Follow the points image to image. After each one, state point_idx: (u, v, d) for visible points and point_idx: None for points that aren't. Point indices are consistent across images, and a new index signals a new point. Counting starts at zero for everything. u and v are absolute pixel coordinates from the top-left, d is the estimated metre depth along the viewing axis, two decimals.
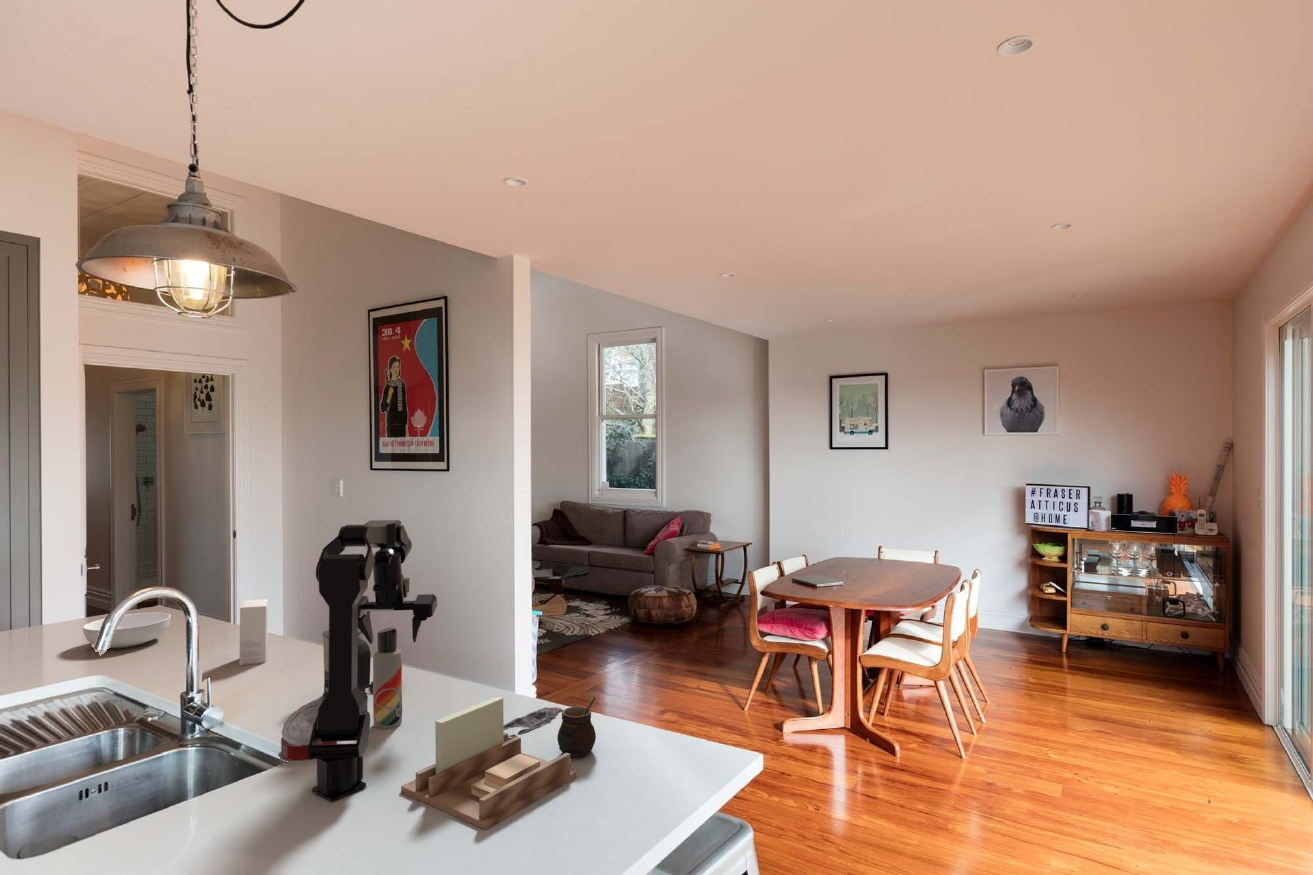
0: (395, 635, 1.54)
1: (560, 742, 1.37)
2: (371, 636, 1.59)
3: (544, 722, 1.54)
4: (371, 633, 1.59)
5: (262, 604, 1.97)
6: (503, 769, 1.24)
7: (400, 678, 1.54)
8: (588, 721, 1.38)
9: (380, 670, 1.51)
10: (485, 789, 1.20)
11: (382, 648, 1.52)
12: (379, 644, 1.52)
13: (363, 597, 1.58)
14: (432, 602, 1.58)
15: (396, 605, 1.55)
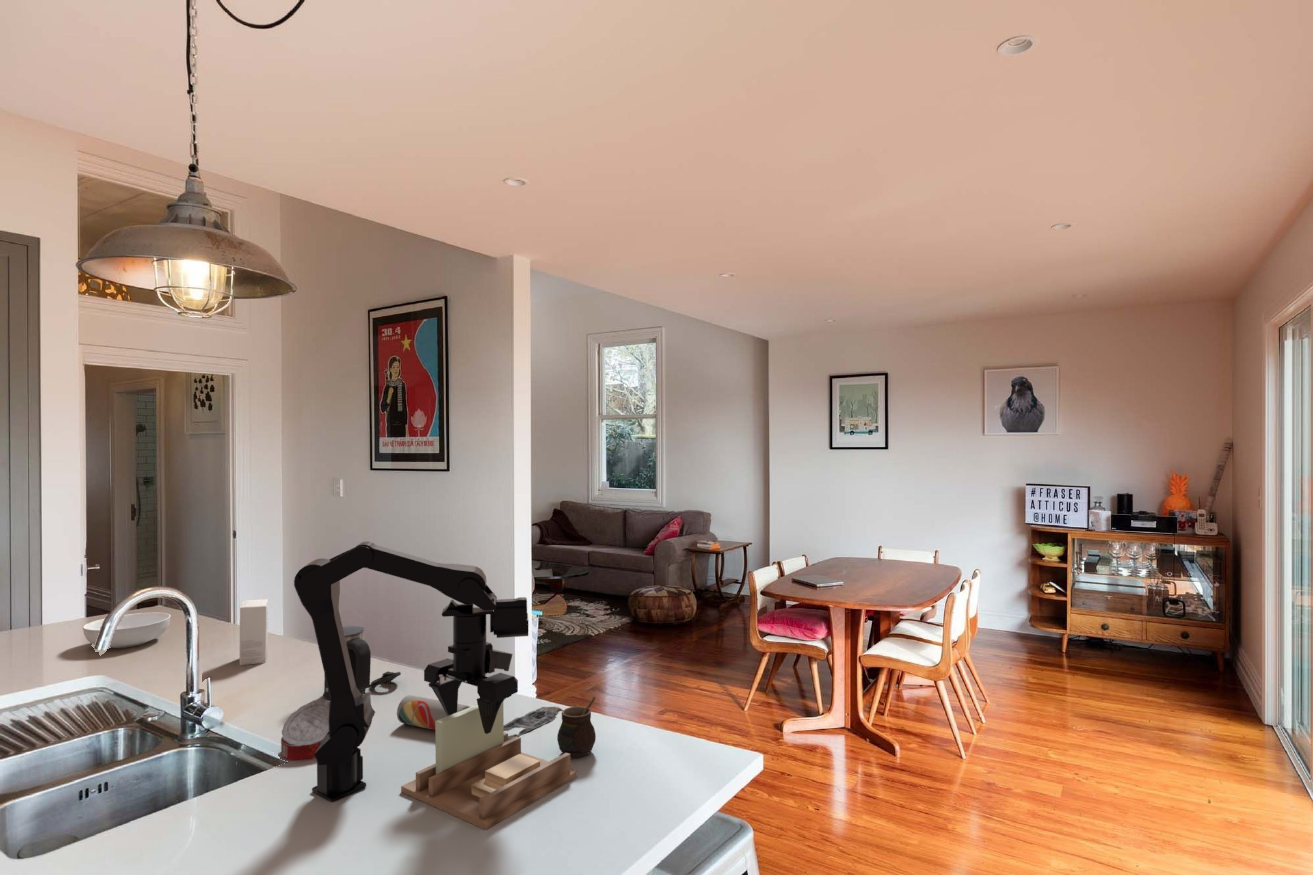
0: None
1: (560, 742, 1.37)
2: (452, 712, 1.32)
3: (544, 721, 1.54)
4: (453, 709, 1.33)
5: (262, 604, 1.97)
6: (503, 769, 1.24)
7: None
8: (588, 721, 1.38)
9: (444, 716, 1.48)
10: (485, 789, 1.20)
11: None
12: None
13: None
14: (501, 683, 1.24)
15: (465, 676, 1.27)
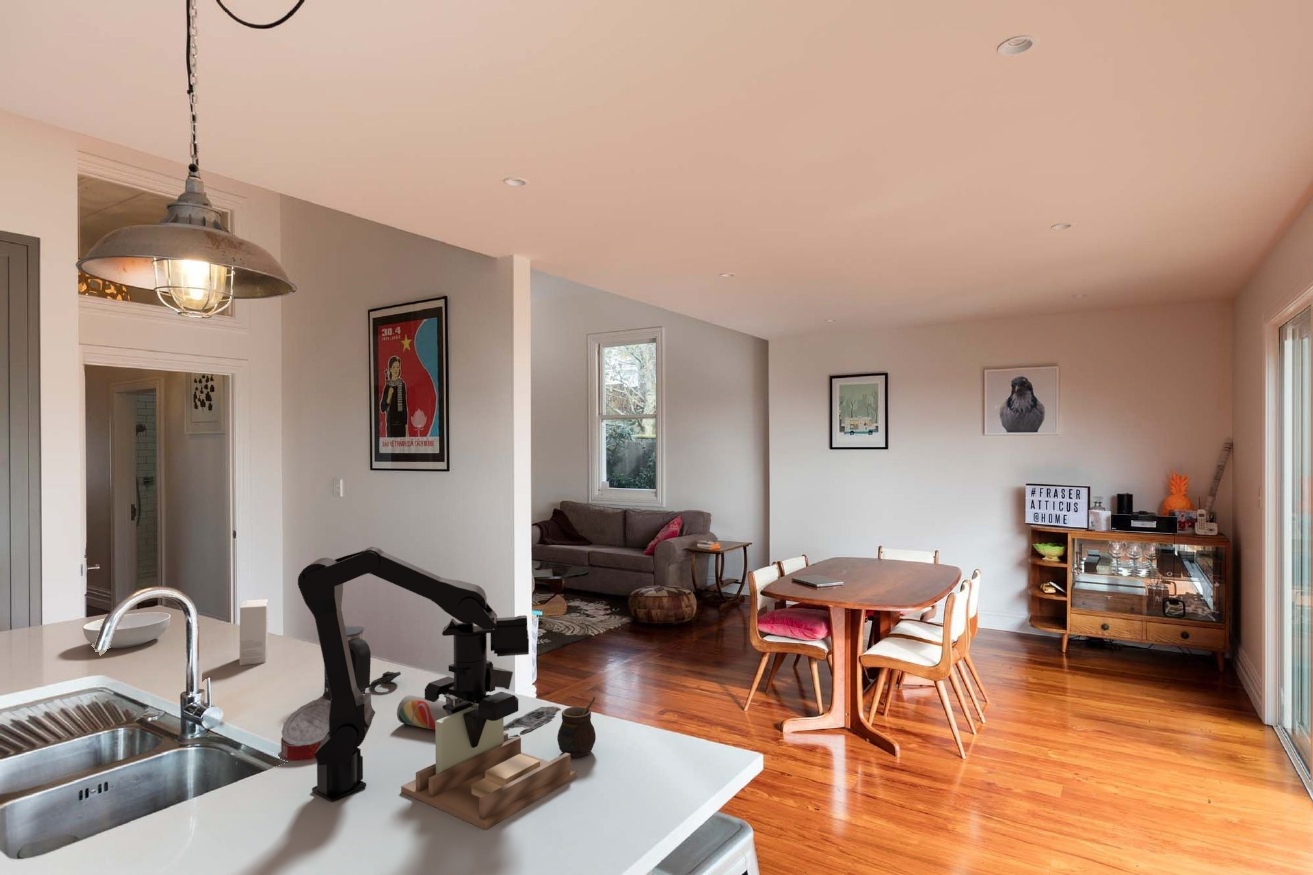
0: None
1: (560, 742, 1.37)
2: None
3: (544, 721, 1.54)
4: None
5: (262, 604, 1.97)
6: (503, 769, 1.24)
7: None
8: (588, 721, 1.38)
9: (444, 716, 1.48)
10: (485, 789, 1.20)
11: None
12: None
13: None
14: (502, 703, 1.24)
15: (465, 695, 1.27)
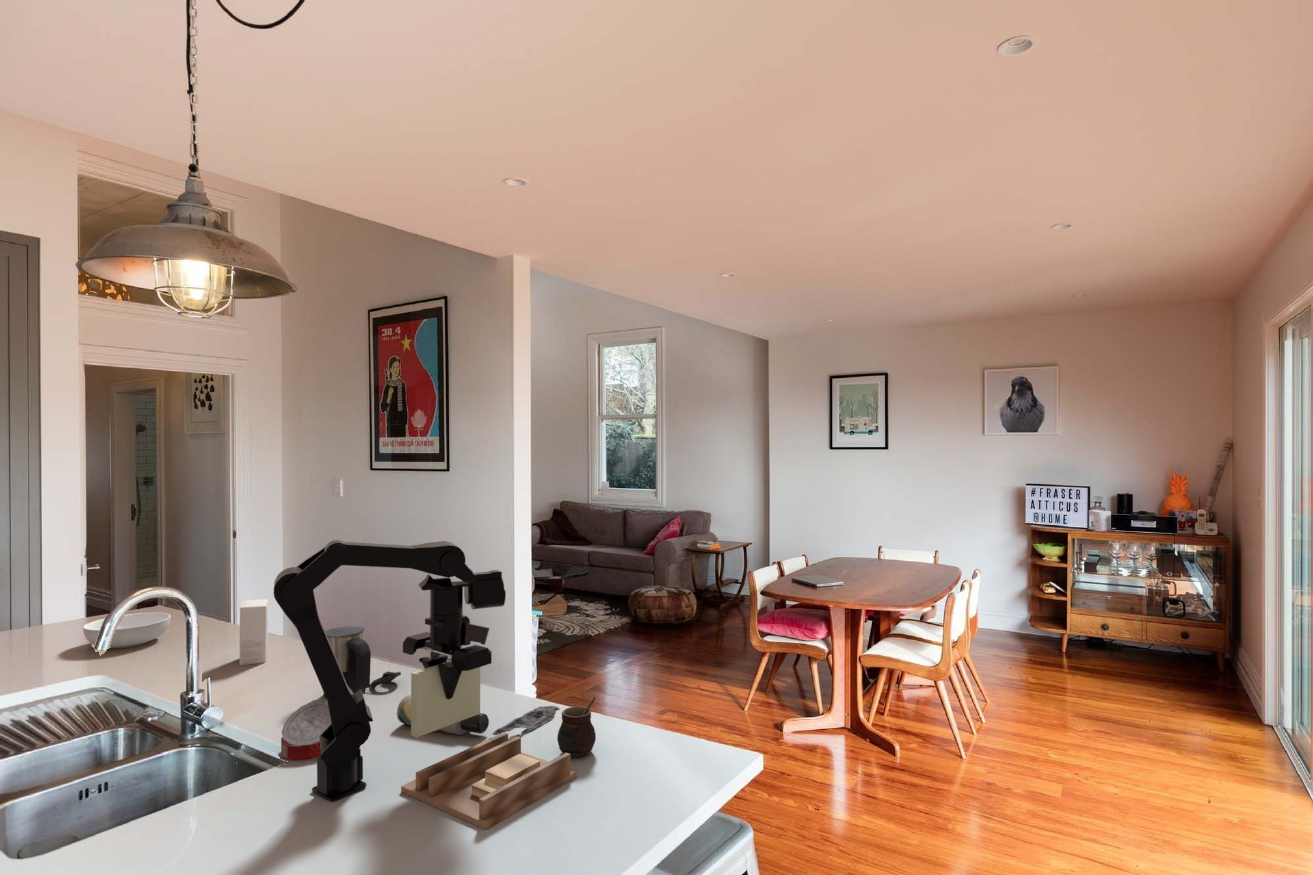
0: (476, 732, 1.47)
1: (560, 742, 1.37)
2: None
3: (544, 720, 1.55)
4: None
5: (262, 604, 1.97)
6: (503, 769, 1.24)
7: (439, 730, 1.50)
8: (588, 721, 1.38)
9: None
10: (485, 789, 1.20)
11: (464, 720, 1.47)
12: None
13: None
14: (474, 654, 1.27)
15: (440, 647, 1.30)
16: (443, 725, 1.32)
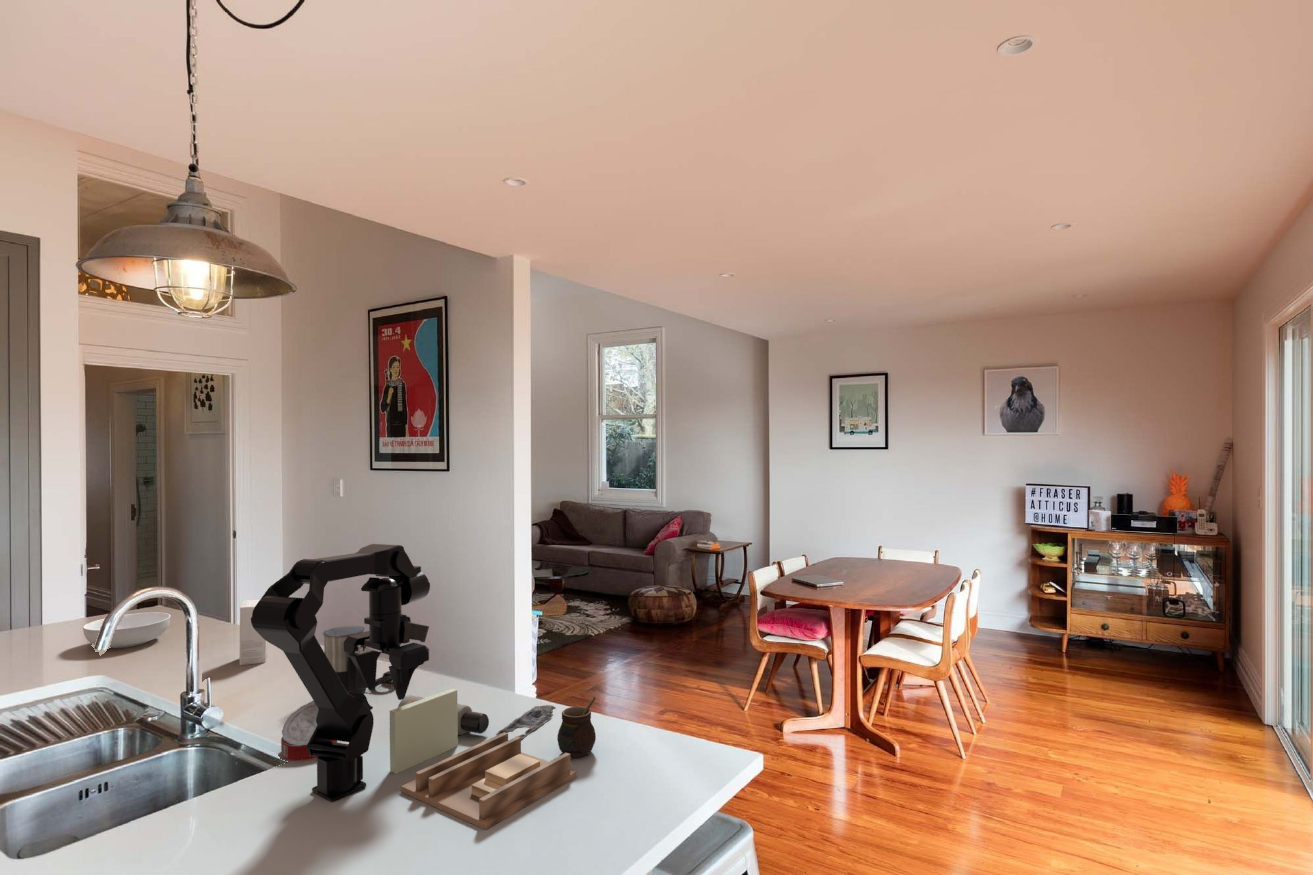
0: (476, 732, 1.47)
1: (560, 742, 1.37)
2: (370, 681, 1.40)
3: (545, 720, 1.55)
4: (372, 678, 1.40)
5: None
6: (503, 769, 1.24)
7: None
8: (588, 721, 1.38)
9: None
10: (485, 789, 1.20)
11: (464, 720, 1.47)
12: (469, 716, 1.47)
13: None
14: (411, 652, 1.32)
15: (378, 645, 1.34)
16: (421, 760, 1.36)
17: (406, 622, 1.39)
